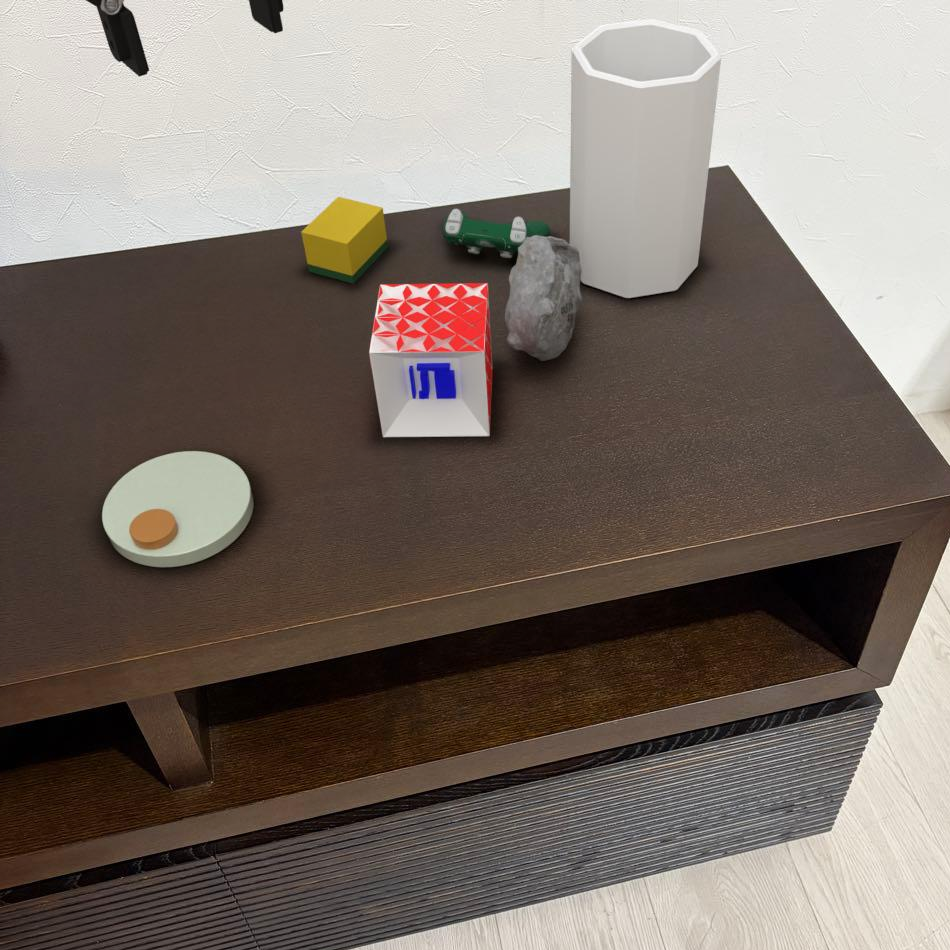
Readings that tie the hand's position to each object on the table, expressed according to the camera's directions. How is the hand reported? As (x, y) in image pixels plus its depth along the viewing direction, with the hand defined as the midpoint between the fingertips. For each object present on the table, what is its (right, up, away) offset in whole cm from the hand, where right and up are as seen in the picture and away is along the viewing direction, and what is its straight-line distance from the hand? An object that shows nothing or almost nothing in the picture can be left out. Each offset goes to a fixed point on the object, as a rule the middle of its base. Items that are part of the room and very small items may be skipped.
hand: (203, 46), depth 73 cm
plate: (-3, -31, +3) cm, 31 cm away
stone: (+23, -18, +15) cm, 33 cm away
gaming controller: (+18, -7, +24) cm, 31 cm away
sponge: (+6, -8, +23) cm, 25 cm away
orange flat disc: (-3, -32, 0) cm, 32 cm away
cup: (+30, -9, +23) cm, 39 cm away
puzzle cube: (+15, -22, +11) cm, 29 cm away
